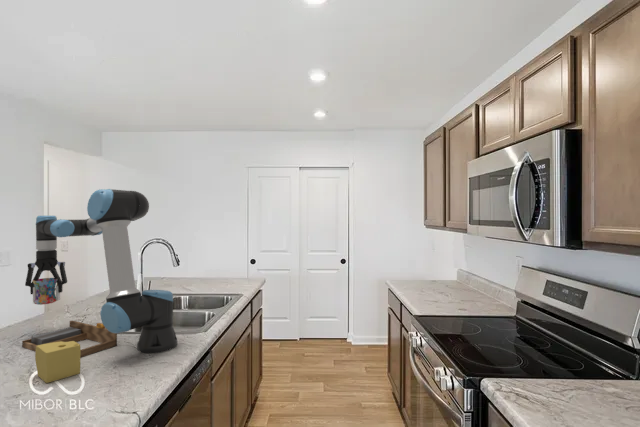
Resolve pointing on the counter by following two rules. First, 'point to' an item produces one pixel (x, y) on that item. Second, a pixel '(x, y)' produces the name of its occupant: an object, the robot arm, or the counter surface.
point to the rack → (76, 337)
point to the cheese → (57, 360)
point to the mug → (45, 290)
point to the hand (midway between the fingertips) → (46, 300)
